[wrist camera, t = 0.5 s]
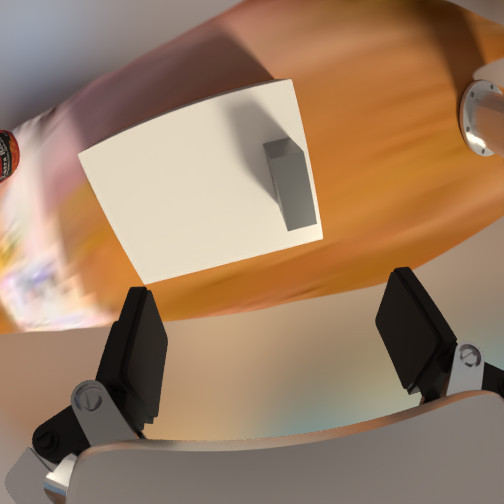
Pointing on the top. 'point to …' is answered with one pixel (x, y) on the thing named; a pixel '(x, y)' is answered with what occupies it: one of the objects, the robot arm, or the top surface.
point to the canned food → (8, 155)
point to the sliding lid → (208, 183)
